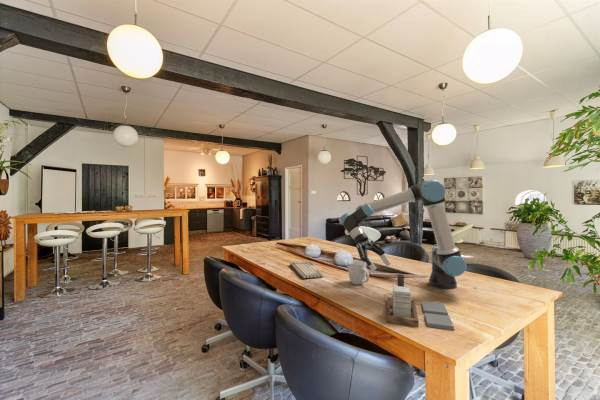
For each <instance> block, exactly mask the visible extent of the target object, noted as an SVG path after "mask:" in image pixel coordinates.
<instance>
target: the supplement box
mask: <svg viewBox="0 0 600 400" xmlns="http://www.w3.org/2000/svg"><path fill="white" fill-rule="evenodd" d="M411 294H412V292H411V289H410V287H409V286H404V287H402V286H397V285H393V286H392V298H393V308H392V313H393V316H398V317H405V318H412V311H411V300H412V295H411Z"/></svg>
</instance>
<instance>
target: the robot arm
mask: <svg viewBox="0 0 600 400" xmlns="http://www.w3.org/2000/svg"><path fill="white" fill-rule="evenodd" d="M445 195H446V188H445V185H444V184H443V183H442V182H441V181H439V180H435V179H428V180H423V181H420V182H418V183H416V184H414V185H412V186H410V187H408V188H407V189H406V190H403V191H400V192H397V193H393V194H391V195H389V196H385V197H383V198H380V199H377V200H373V201H371V202H368V203H364V204H361V205H358V206H357V207H356V208H355V211H354V212H352V213H350V212H345V213H343V215H342V216H340V218H339V220H340V223H341V224H342V226H343V227H344V229H345V231H347V233H348V234H349V236H350V237H351V238H352V240H353V241H354V243H355V244H356V245H355V247H356V249H357V252H358V255H359V259H360V261H363V262H366V266H368V267H369V268H370V270H371V271H372V272H375V271H376V270H377V266H376V265H375V264H374V262H373V261H372V259H371V258H370V257H369V256H368V255H369V254H368V251H371V252H373V253H375V254H377V255H378V256H379V258H380V260H381V261H382V262H383V264H385V266H386V267H389V266H390V265H391V262H390V261H389V260H388V258H387V256H386V251H385V250H384V249H382V247H381V246H379V245H377V244H376V243H375V242H374V241H373V240H369V236H367V233H365V232H364V230H363V228H362V227H361V226H360V224H362V223H363V222H364V221H365V220H367V219H368V218H370V217H372V215H375V214H377V213H381V212H385V211H387V210H389V209H392V208H395V207H400V206H402V205H406V204H409V203H411V202H412V203H417V202H421V203H422V207H424V208H426V209H427V213H428V217H429V220H430V223H431V227H432V231H433V235H434V237H435V241H436V245H437V246H434V247H432V249H431V273H430V276H429V278H428V284H429V285H430V286H432V287H435V288H437V289H438V288H439V289H447V290H448V289H449V290H450V289H451V290H453V289H456V288H457V286H458V283H457V279H456V277H460V276H461V275H464V273H465V272H466V270H467V263H466V260H465V259H464V258H463V257H462V255H461V251H460V248H459V247H457V246H456V244H455V240H454V238H453V237H454V236H453V233H452V230H451V227H450V222H449V219H448V216H447V213H446V212H447V211H446V208H445V203H446V202H447V201H446V197H445Z"/></svg>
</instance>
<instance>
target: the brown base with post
mask: <svg viewBox="0 0 600 400" xmlns="http://www.w3.org/2000/svg"><path fill="white" fill-rule="evenodd" d="M396 277H397V284H396V286H402V287H405V275H404V274H397V276H396ZM386 299H387V300H386V315H385V316H386V317H385V318H386V319H385V323H389V324H397V325H405V326H412V327H417V328H418V327H419V323H420V322H419V316H418V311H417V307H416V303H415V300H414V299H411V314H412V316H413V318H412V317H411V318H405V317H398V316H394V315H391V309H393V297H387V298H386Z"/></svg>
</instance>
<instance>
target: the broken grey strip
mask: <svg viewBox="0 0 600 400" xmlns="http://www.w3.org/2000/svg"><path fill="white" fill-rule="evenodd" d="M421 306H422V311H423V314H424V319H425V322H426V327H430V328H437V329H443V330H452V331H454V330H455V325H454V323H453V321H452V319H451V317H450V315H449V313H448V310H447V308H446V306H445V304H444V303H443V302H442V303H439V302H432V301H423V300H422V301H421Z"/></svg>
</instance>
